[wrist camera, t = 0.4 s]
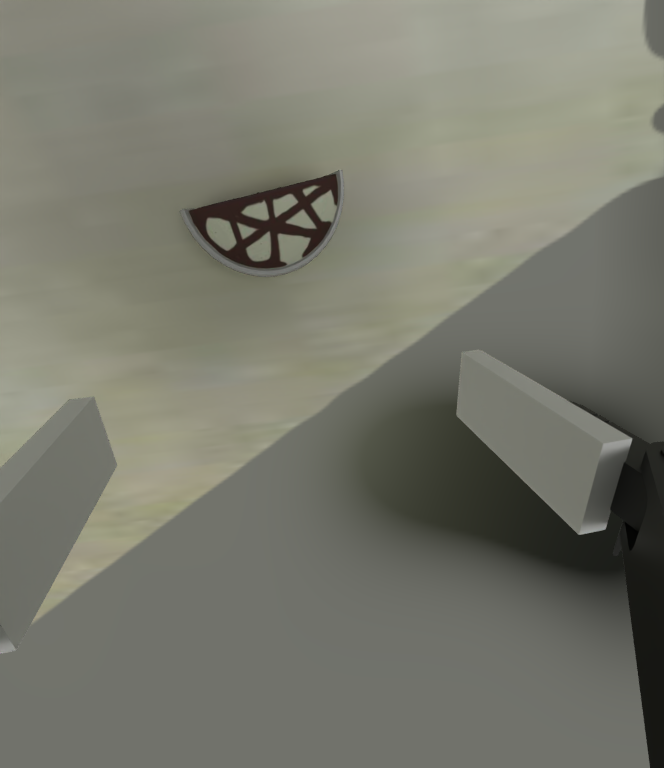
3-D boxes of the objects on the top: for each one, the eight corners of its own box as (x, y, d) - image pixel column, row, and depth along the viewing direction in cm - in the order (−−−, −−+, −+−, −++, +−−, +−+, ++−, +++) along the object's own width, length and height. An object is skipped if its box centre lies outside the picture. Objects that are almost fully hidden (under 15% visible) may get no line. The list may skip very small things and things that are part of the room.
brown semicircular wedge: (217, 280, 38) (206, 299, 29) (194, 212, 35) (174, 210, 26) (338, 248, 39) (364, 256, 30) (324, 180, 36) (347, 167, 27)
